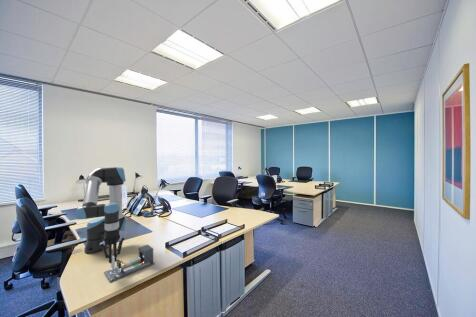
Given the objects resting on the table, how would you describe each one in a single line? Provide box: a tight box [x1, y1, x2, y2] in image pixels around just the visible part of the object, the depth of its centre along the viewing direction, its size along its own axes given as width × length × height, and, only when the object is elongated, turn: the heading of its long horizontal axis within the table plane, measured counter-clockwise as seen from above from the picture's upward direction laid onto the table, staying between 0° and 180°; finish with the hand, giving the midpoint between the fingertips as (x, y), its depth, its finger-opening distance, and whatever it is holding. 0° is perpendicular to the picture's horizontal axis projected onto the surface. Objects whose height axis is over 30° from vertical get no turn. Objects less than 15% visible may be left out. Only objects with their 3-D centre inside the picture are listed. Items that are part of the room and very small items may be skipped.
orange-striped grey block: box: [116, 257, 141, 271], centre depth 127 cm, size 9×13×6 cm
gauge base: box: [103, 244, 156, 283], centre depth 128 cm, size 13×26×10 cm, turn 137°
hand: (112, 267), depth 120 cm, fingers closed
